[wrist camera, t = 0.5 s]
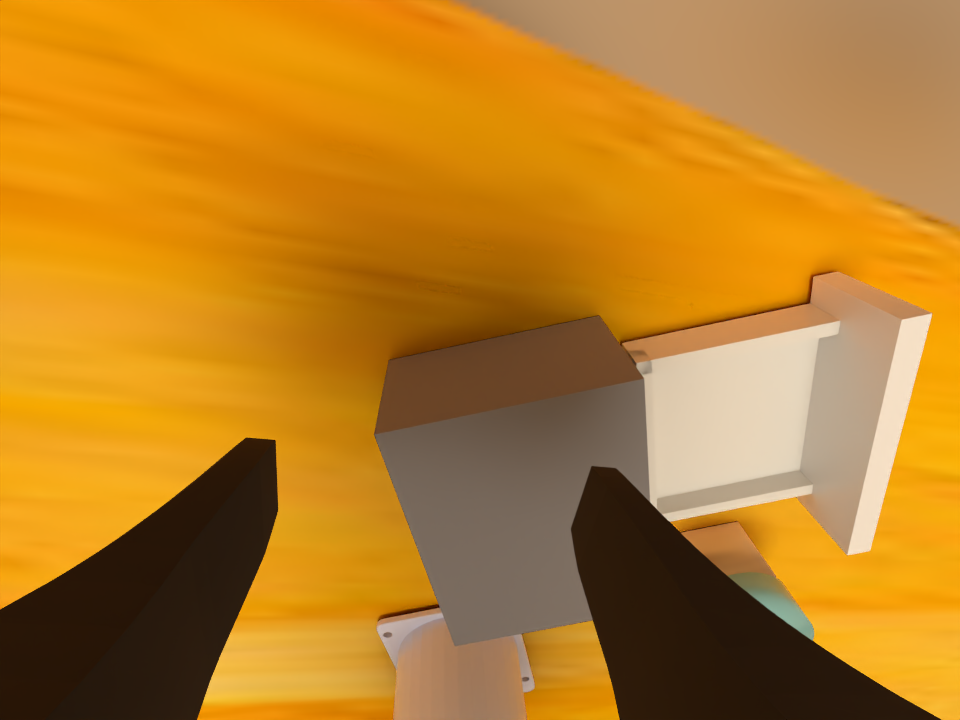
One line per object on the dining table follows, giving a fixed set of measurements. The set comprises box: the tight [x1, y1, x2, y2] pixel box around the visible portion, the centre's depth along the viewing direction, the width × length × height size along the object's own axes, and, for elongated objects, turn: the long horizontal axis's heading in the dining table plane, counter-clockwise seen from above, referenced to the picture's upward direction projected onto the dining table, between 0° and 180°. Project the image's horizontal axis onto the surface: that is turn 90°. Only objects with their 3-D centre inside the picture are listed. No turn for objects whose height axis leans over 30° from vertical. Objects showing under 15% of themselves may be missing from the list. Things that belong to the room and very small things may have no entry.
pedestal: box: [681, 521, 776, 578], centre depth 26 cm, size 4×4×4 cm
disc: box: [728, 572, 814, 641], centre depth 24 cm, size 6×6×2 cm
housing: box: [374, 316, 650, 646], centre depth 21 cm, size 12×9×5 cm
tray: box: [622, 272, 932, 555], centre depth 21 cm, size 12×9×4 cm
